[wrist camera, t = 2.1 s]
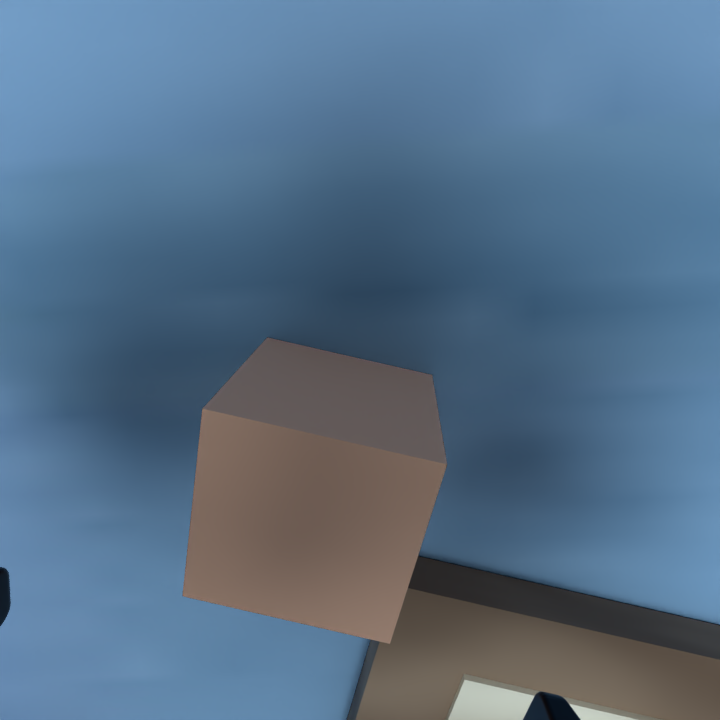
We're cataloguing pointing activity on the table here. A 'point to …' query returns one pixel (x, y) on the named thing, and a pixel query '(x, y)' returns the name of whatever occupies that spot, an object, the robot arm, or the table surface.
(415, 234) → the table surface
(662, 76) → the table surface
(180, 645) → the table surface
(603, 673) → the base board
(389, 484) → the terracotta block
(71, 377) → the table surface
